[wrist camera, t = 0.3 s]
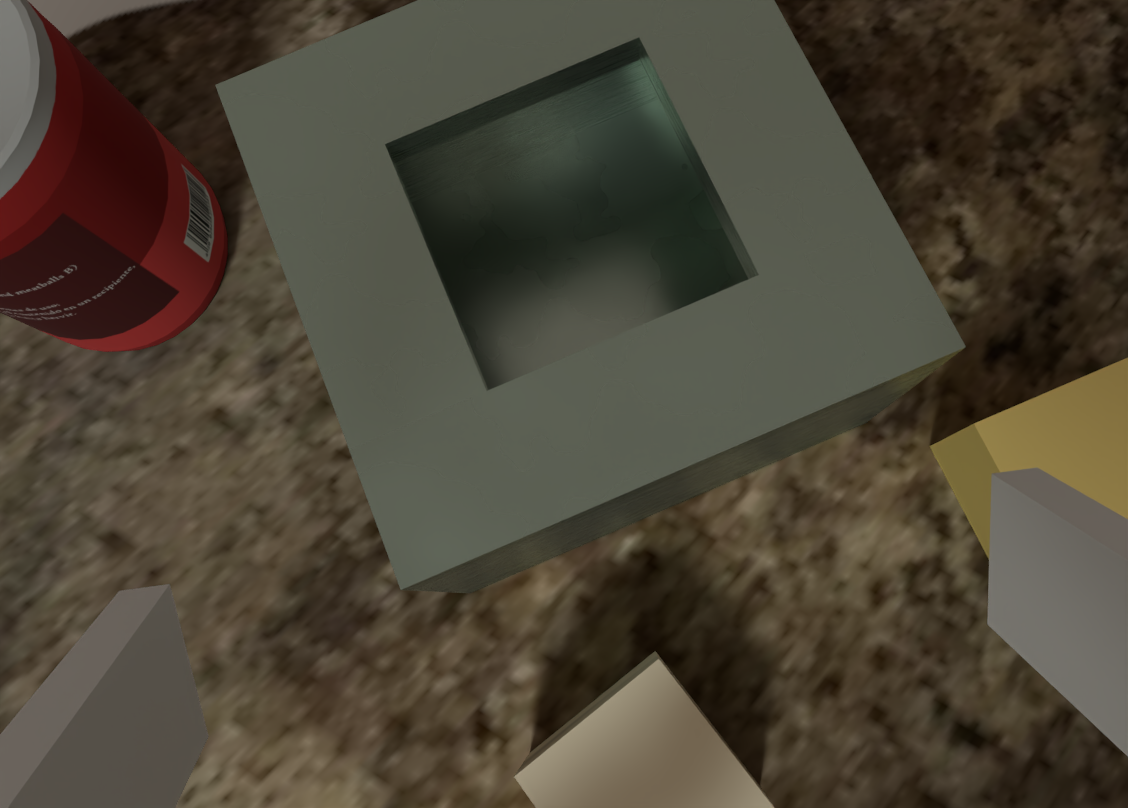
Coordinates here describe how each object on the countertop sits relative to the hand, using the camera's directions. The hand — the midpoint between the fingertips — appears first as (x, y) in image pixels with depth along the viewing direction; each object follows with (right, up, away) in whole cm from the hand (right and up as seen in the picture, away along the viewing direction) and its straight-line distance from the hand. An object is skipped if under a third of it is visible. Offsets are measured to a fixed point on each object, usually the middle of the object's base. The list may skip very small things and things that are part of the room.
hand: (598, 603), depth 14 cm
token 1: (+2, -8, +13) cm, 16 cm away
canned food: (-16, +9, +18) cm, 26 cm away
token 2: (+15, +1, +14) cm, 20 cm away
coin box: (0, +6, +16) cm, 18 cm away
